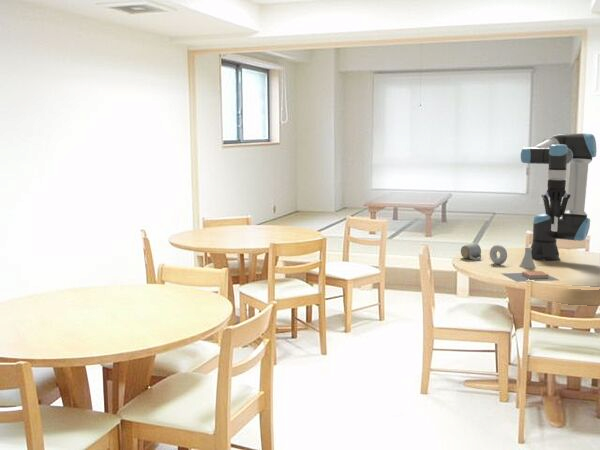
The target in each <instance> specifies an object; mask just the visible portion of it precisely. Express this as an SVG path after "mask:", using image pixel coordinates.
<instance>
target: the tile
mask: <svg viewBox="0 0 600 450" xmlns="http://www.w3.org/2000/svg"><path fill="white" fill-rule="evenodd" d="M521 273H522V275H523V276H525V277H527V278H529V279H536V278H548V277H549V276H550V275H549V274H548V273H546V272H544V271H539V270H538V271H522V272H521Z"/></svg>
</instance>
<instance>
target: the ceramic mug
mask: <svg viewBox="0 0 600 450" xmlns="http://www.w3.org/2000/svg"><path fill="white" fill-rule="evenodd" d="M481 254H482V249H481V246H480V245H479V244H478V243H476V242H475V243H469V244H464V245H463V246H461V249H460V255H461V257H462V258H463V259H465V260H468V259H469V260H473V261H476V262H477V261H481V260H482V255H481Z"/></svg>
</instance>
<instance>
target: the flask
mask: <svg viewBox="0 0 600 450" xmlns="http://www.w3.org/2000/svg"><path fill="white" fill-rule="evenodd" d="M531 250H532V248H530V247H524V251H525V252H524V255H523V257H522V260H521V262H520V264H519V267H518V268H523V269H536V268H537V267H536V266H535V263H534V259H533V258H532V254H531Z"/></svg>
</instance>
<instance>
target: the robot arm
mask: <svg viewBox="0 0 600 450" xmlns="http://www.w3.org/2000/svg"><path fill="white" fill-rule="evenodd" d="M596 141H597V140H596V137H595V135H594V134H592V133H558V134H554V135H551V136H548V137H546V138H544V139H543V140H542V141H541V143H539V144H537V145H535V146H533V147H531V146H528V147H527V146H526V147H525V146H524V147H522V148H521V152H520V162H521V163H523V164H528V165H529V164H541V165H543V164H544V165H548V172H547V178H548V180H547V190H546V192H545V193H544V194H541V198H542V200H543V205H544V209H545V210H544V211H545V213H539V214H536V215H535V216H534V217H533V223H532V224H533V225H532V226H533V227H532V243H531V245H530V247H529V248H532V250H531V254H532V259H533V260H540V261H557V260H559V259H560V253H559V249H558V245H557V240H565V241H579V242H582V241H585V240H586V239H587V237H588V233H589V231H590V226H591V219H590V218H589V217H588V214H587V213H586V212H585V206H586V205H585V204H586V196H587V195H586V194H587V185H588V184H587V183H588V174H589V173H588V171H589V164H590V163H592V161H593V158H596V157H597V142H596ZM567 164H569V173H568V184H567V185H568V186H567V185H566V183H567V180H566V179H567ZM566 186H567V191H566Z"/></svg>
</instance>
